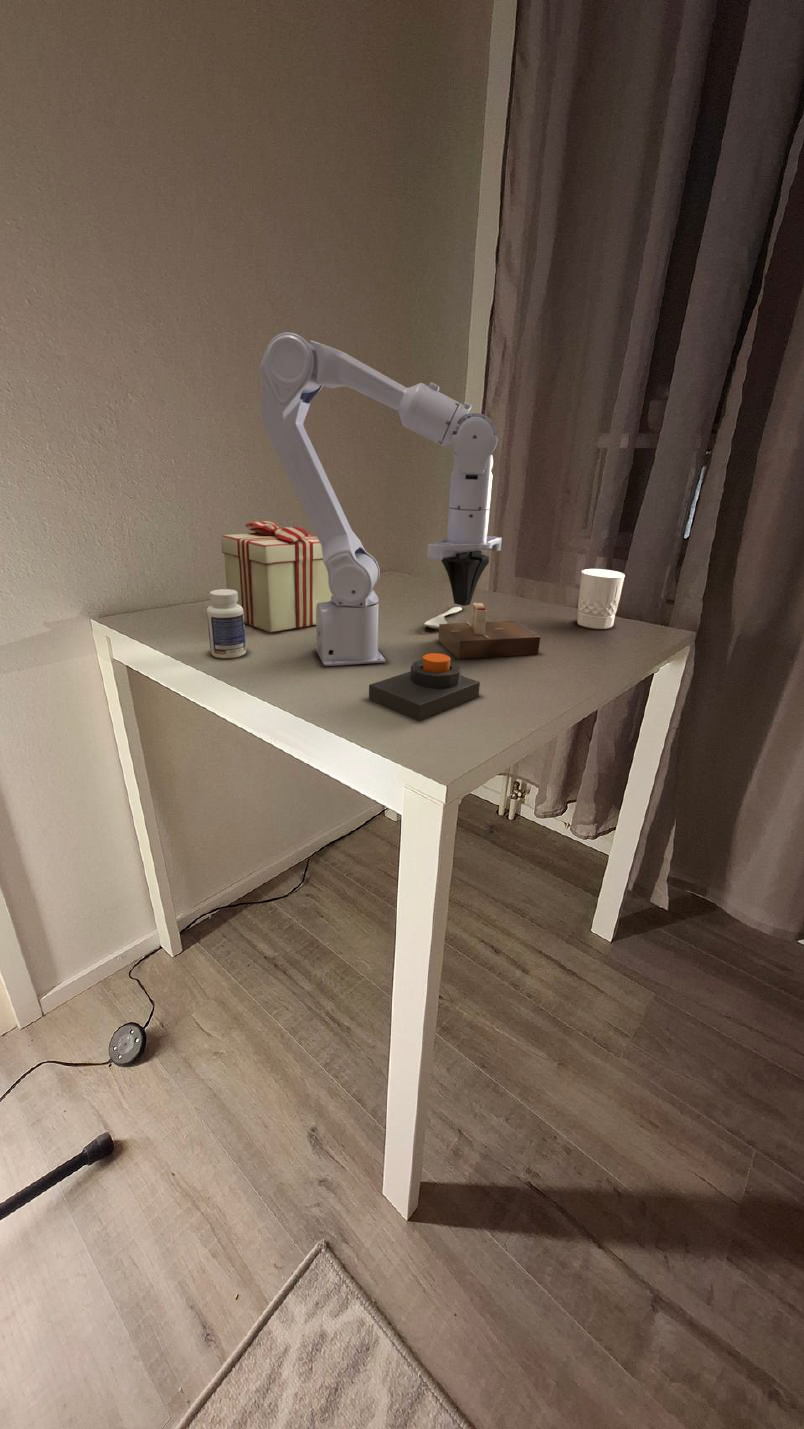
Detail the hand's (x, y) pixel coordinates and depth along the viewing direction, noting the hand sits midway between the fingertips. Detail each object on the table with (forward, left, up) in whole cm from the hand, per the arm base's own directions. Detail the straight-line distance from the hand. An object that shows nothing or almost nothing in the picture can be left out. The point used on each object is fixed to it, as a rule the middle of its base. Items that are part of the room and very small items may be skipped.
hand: (461, 604), depth 92 cm
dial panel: (+8, +7, -9) cm, 14 cm away
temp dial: (+6, +7, -6) cm, 11 cm away
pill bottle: (-34, +11, -10) cm, 37 cm away
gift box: (-23, +31, -10) cm, 40 cm away
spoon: (+7, +25, -10) cm, 28 cm away
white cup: (+35, +17, -10) cm, 40 cm away
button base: (-10, -13, -9) cm, 18 cm away
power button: (-8, -12, -6) cm, 15 cm away
